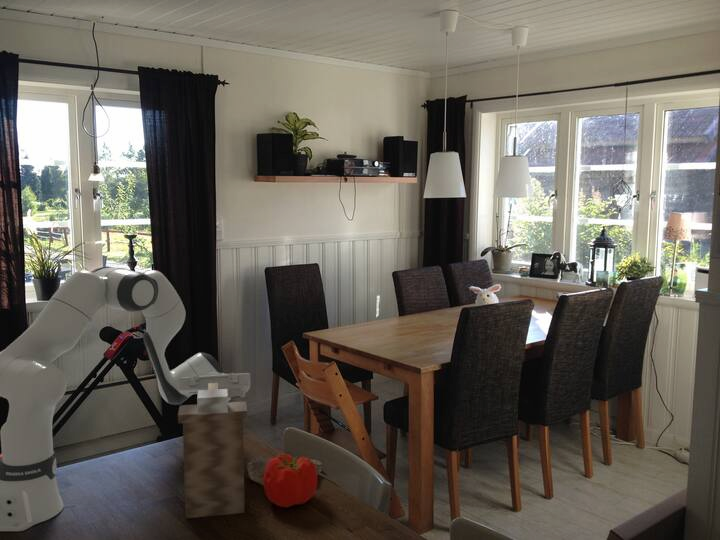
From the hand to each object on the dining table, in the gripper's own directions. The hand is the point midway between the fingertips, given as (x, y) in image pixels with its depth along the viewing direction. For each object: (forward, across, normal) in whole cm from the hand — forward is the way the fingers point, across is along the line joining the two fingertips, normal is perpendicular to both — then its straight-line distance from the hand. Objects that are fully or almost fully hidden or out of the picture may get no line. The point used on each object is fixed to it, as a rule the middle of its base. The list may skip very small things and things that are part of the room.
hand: (213, 377), depth 181 cm
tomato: (+5, +18, +35) cm, 40 cm away
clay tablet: (-8, +17, +28) cm, 34 cm away
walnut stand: (+5, 0, +34) cm, 35 cm away
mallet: (+15, 0, +10) cm, 18 cm away
